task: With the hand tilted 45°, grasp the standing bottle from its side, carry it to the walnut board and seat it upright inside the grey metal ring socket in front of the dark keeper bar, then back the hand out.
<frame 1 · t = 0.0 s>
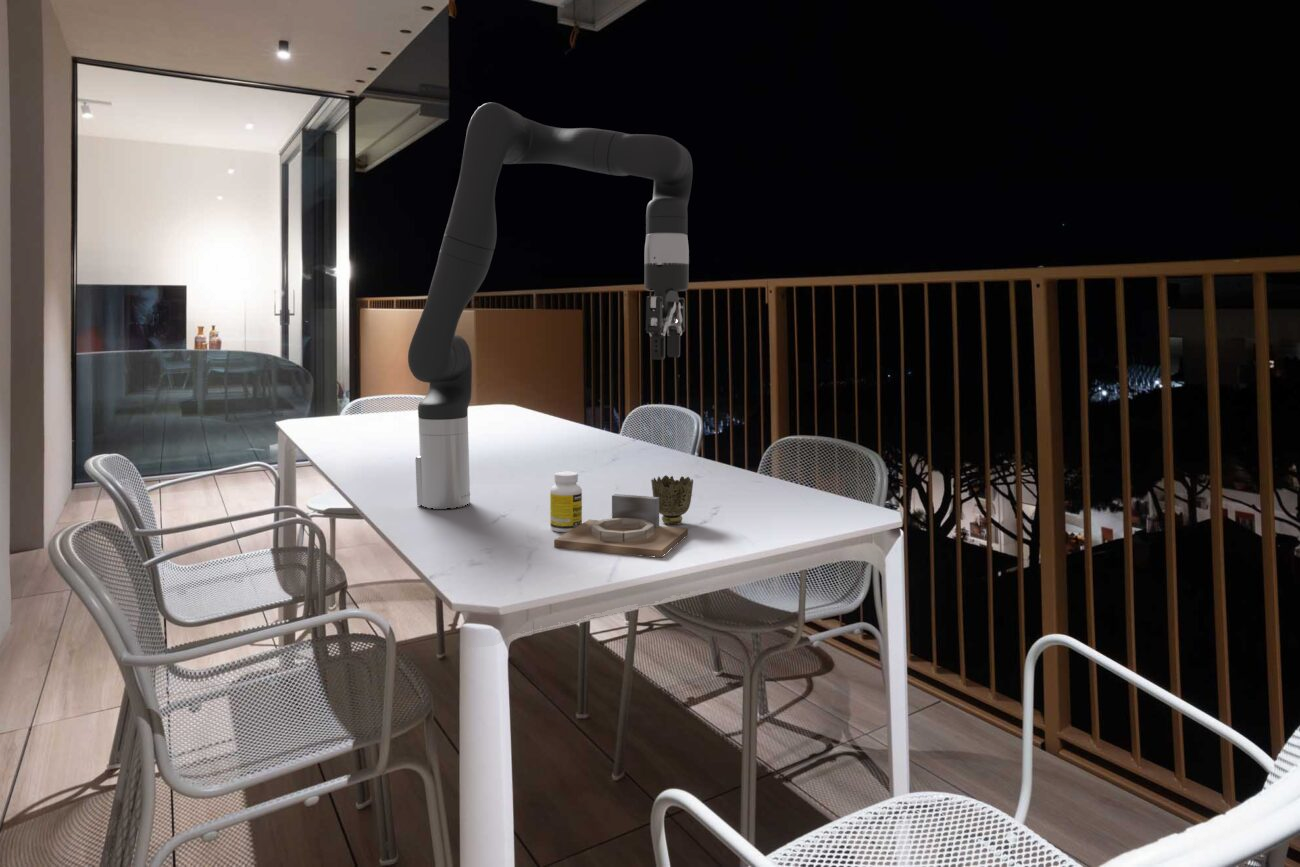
hand: (666, 358, 140), 29 cm above the table, tool pointing down, fingers open, 8 cm apart
supplement bottle: (566, 530, 141), on the table
cup: (672, 524, 145), on the table
socket board: (622, 541, 133), on the table
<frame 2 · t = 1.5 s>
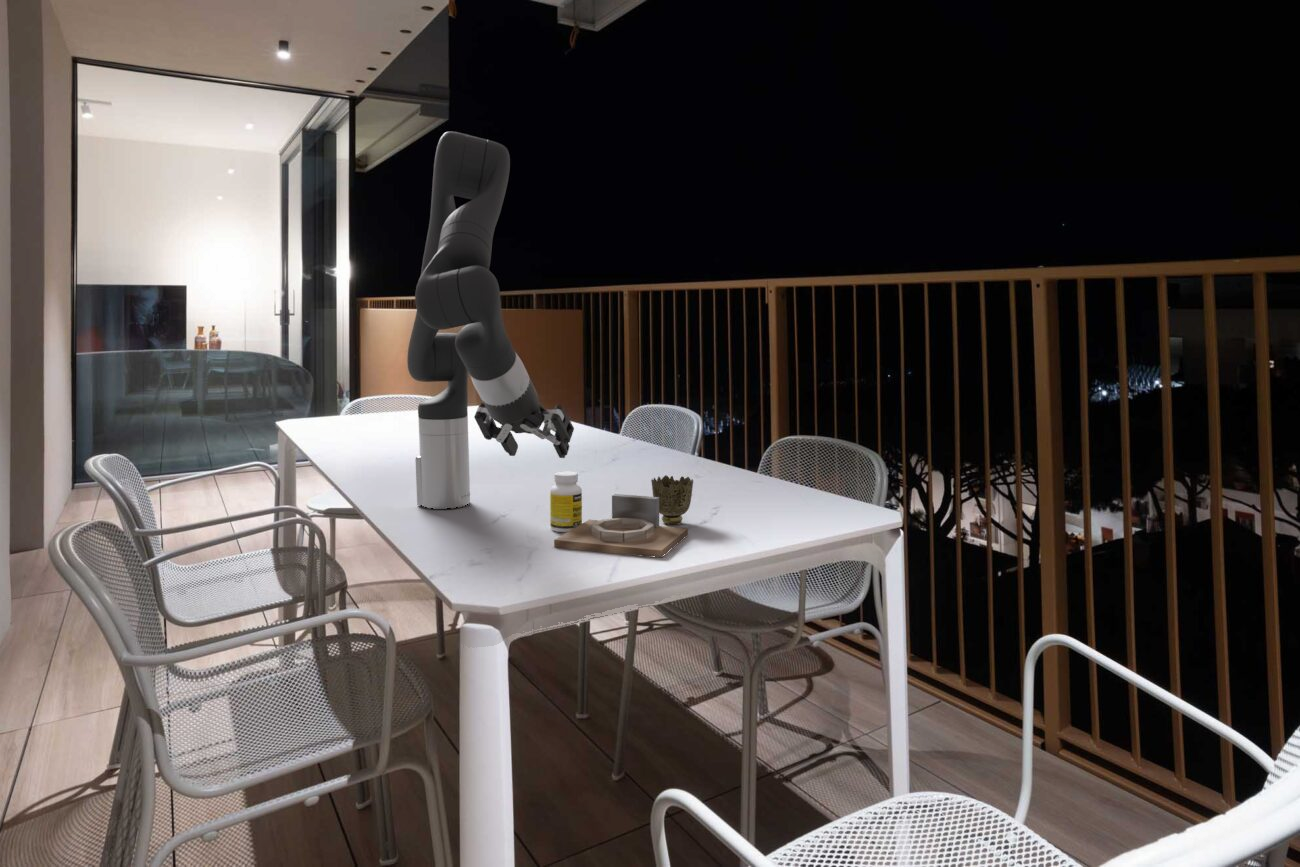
hand: (538, 452, 128), 15 cm above the table, tool tilted 45°, fingers open, 8 cm apart
nothing on the table moved.
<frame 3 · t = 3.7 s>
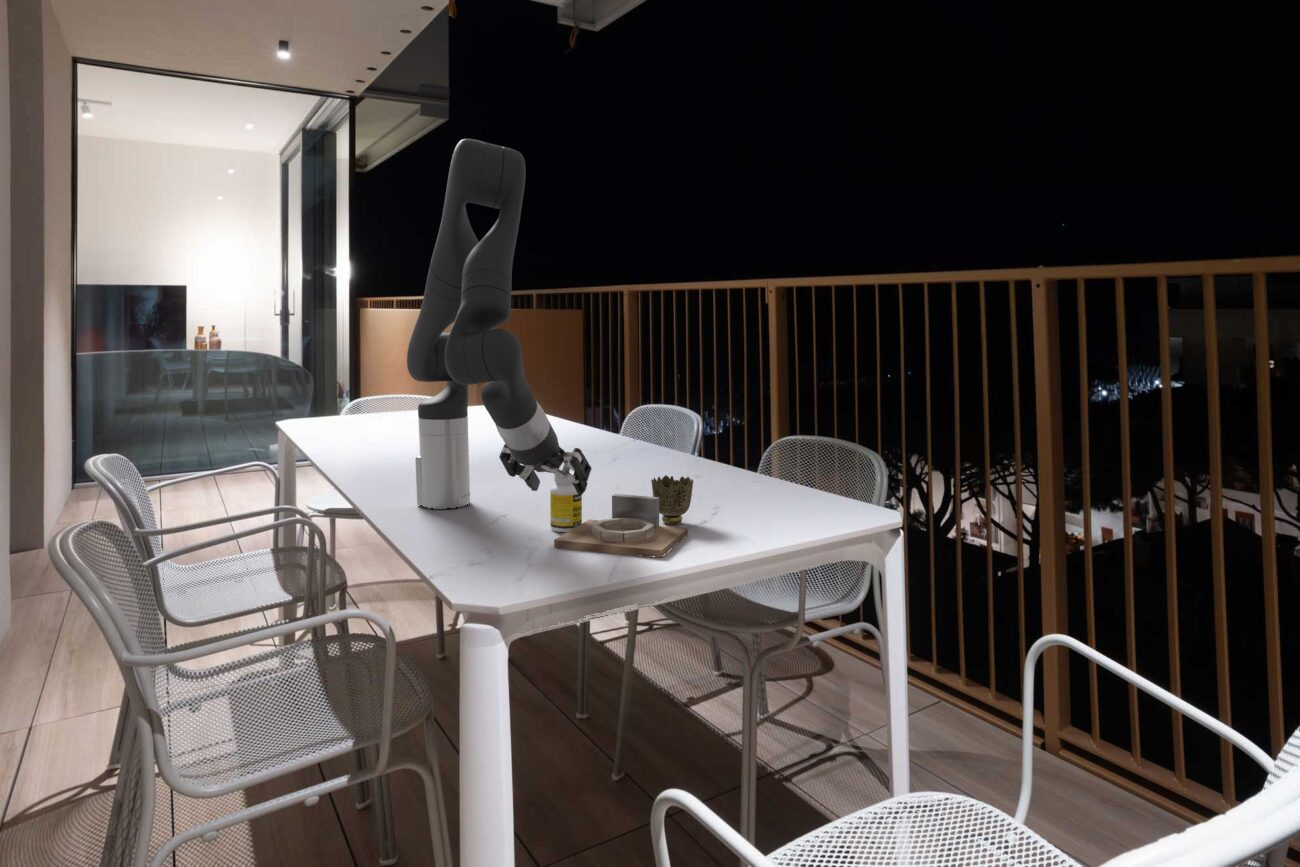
hand: (559, 488, 138), 8 cm above the table, tool tilted 45°, fingers open, 8 cm apart
nothing on the table moved.
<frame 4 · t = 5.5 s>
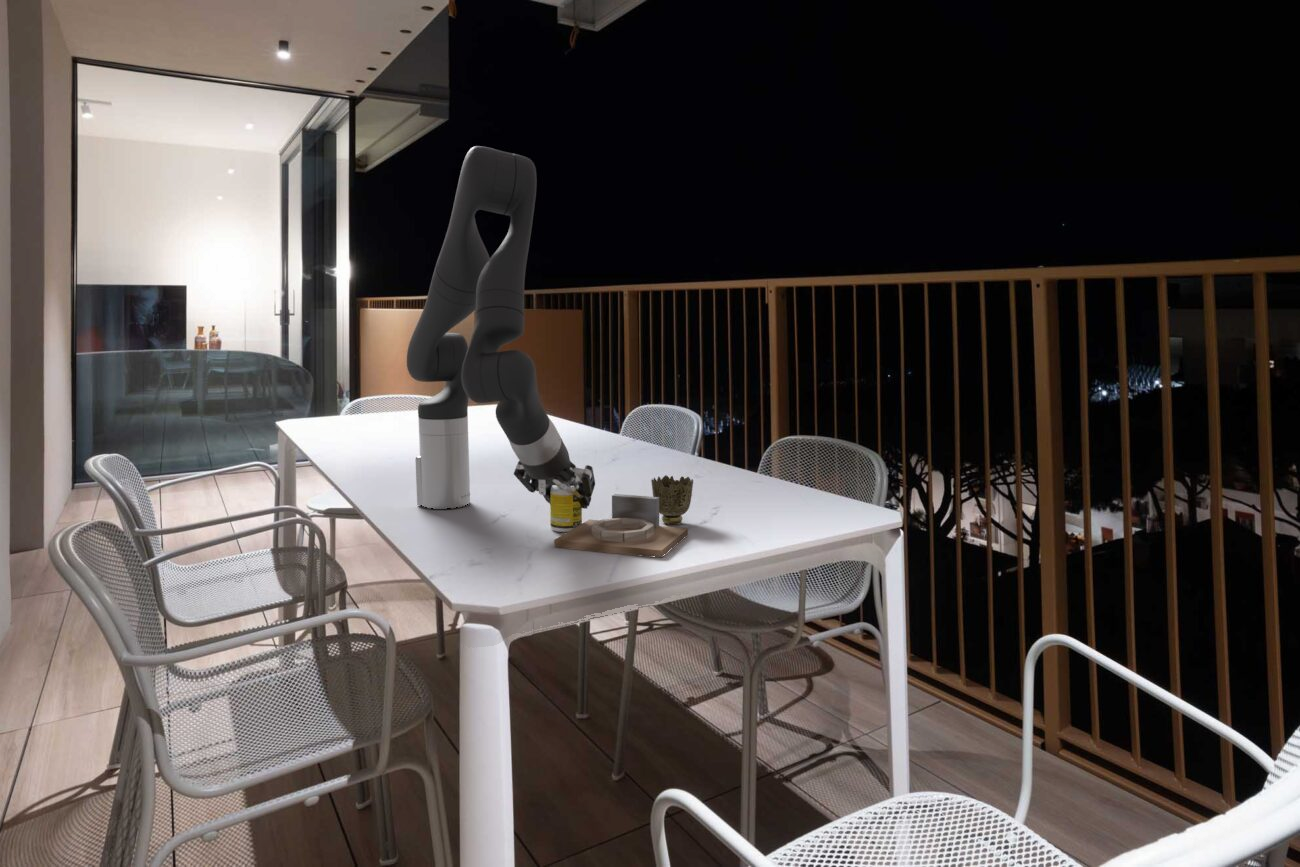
hand: (570, 502, 142), 4 cm above the table, tool tilted 45°, fingers closed on supplement bottle, 5 cm apart
supplement bottle: (566, 530, 141), on the table, touching gripper
everything else where it was.
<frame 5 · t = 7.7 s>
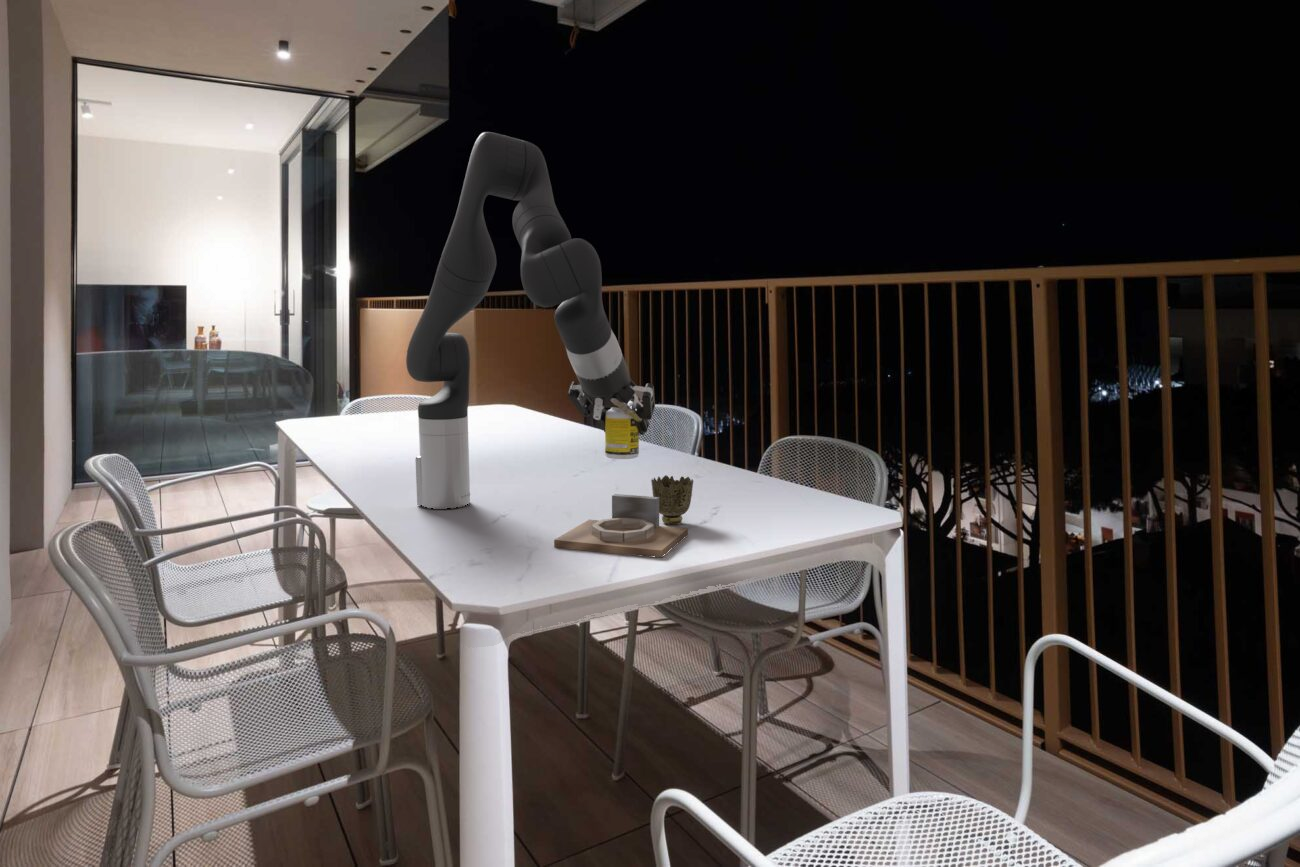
hand: (626, 429, 132), 18 cm above the table, tool tilted 45°, fingers closed on supplement bottle, 5 cm apart
supplement bottle: (622, 458, 131), point 14 cm above the table, touching gripper
everything else where it was.
when the fingers open (7 cm above the table, at t = 10.2 s): supplement bottle drops 2 cm, resting on socket board.
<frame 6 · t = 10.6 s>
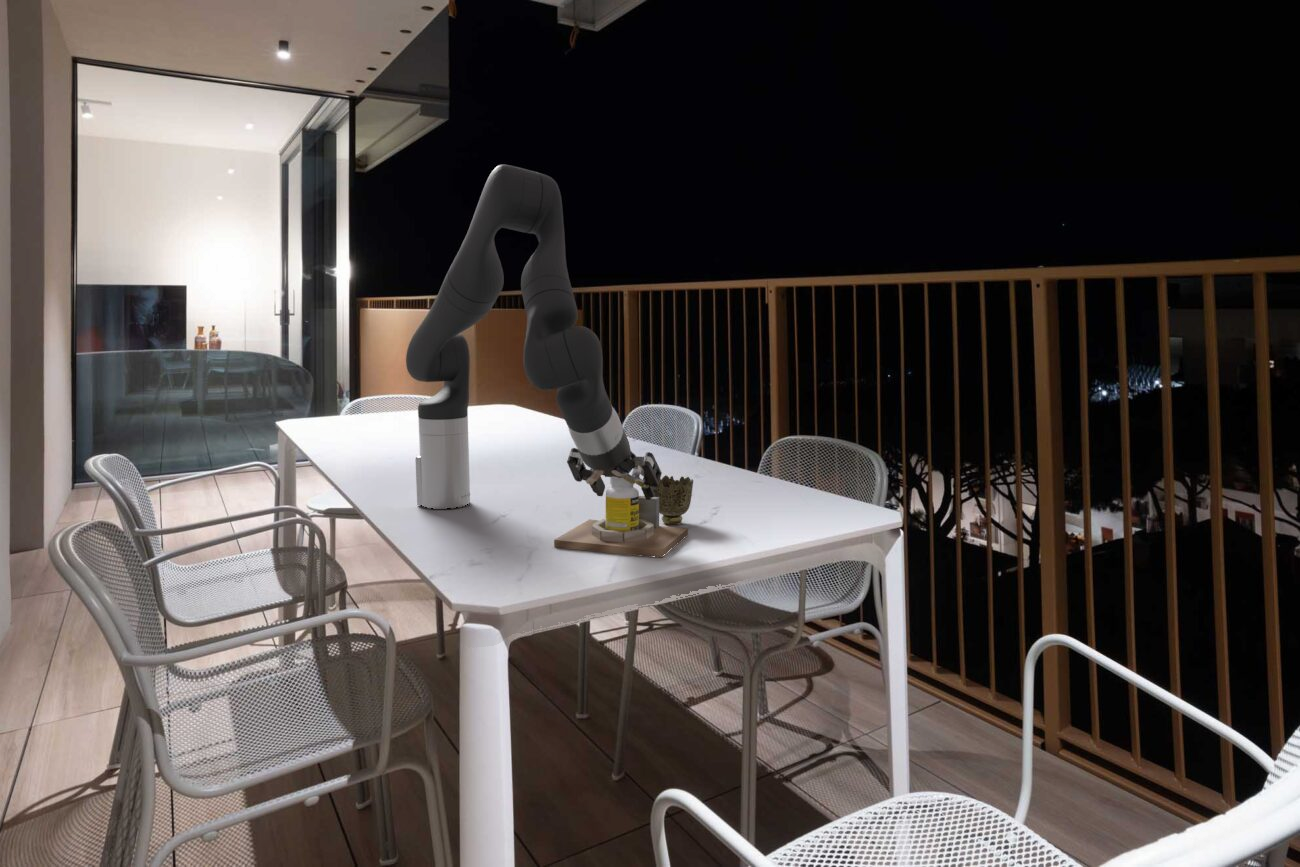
hand: (625, 493, 133), 8 cm above the table, tool tilted 45°, fingers open, 8 cm apart
supplement bottle: (622, 535, 133), point 1 cm above the table, touching socket board
everything else where it was.
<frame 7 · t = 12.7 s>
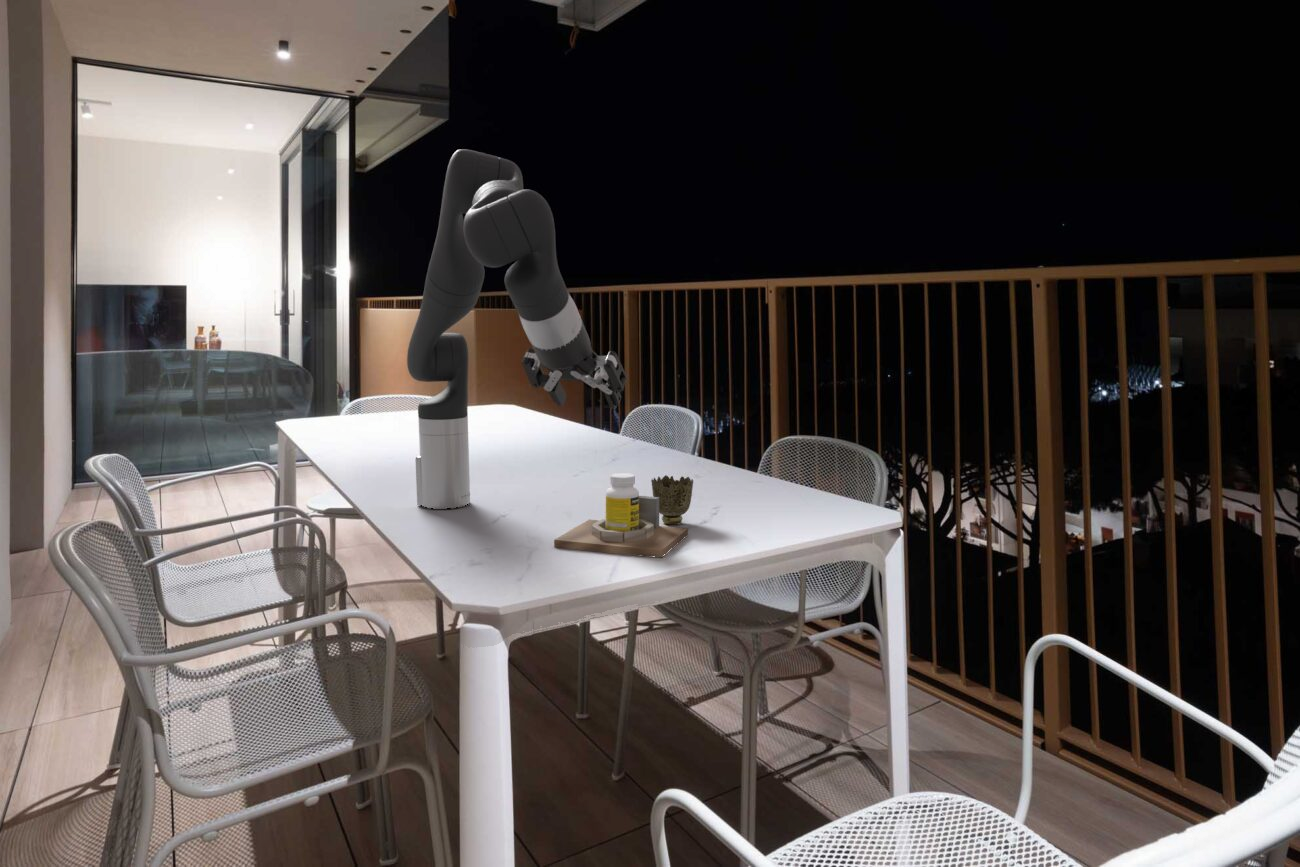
hand: (588, 403, 121), 24 cm above the table, tool tilted 45°, fingers open, 8 cm apart
nothing on the table moved.
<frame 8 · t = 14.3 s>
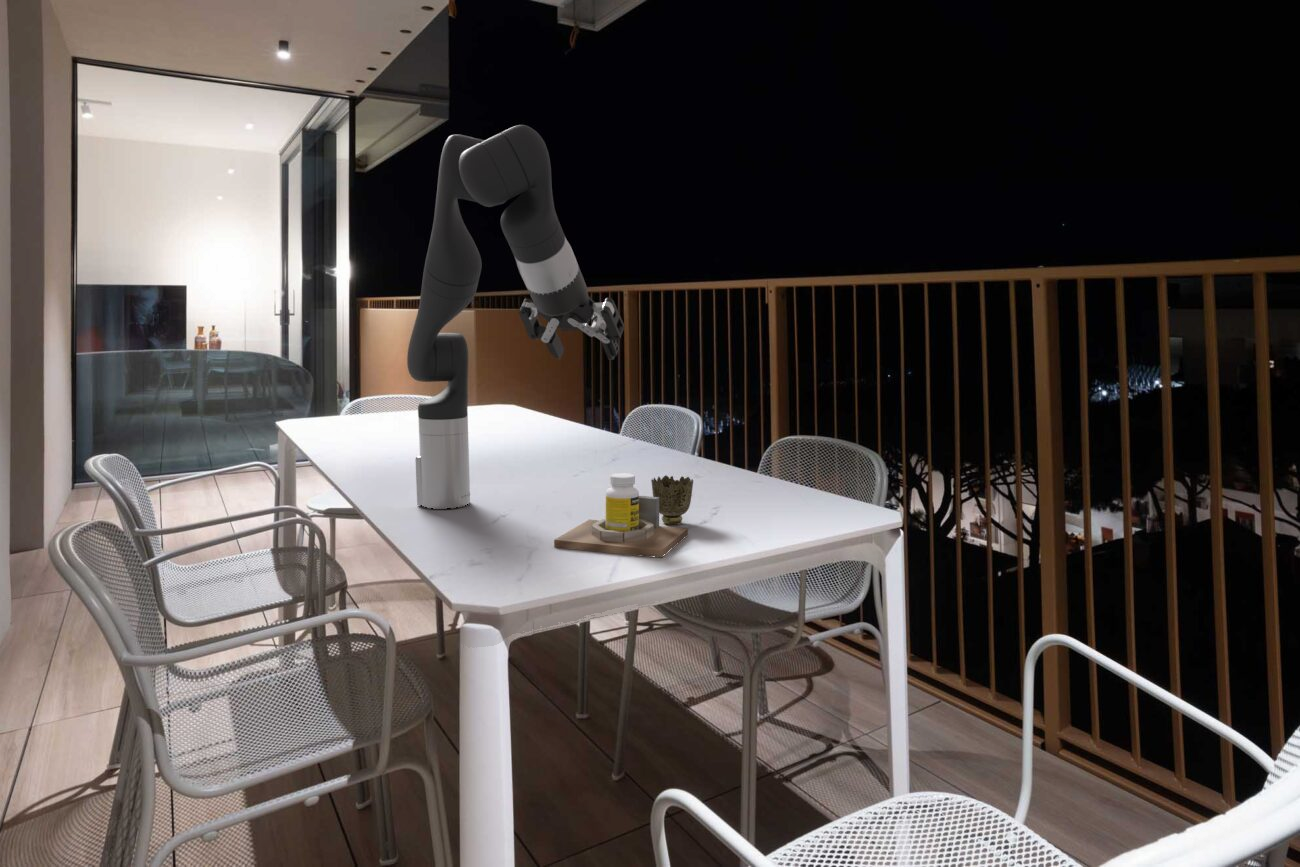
hand: (586, 355, 121), 31 cm above the table, tool tilted 45°, fingers open, 8 cm apart
nothing on the table moved.
at the end: supplement bottle 0.2 cm off-centre on the socket board, point 1.0 cm above the socket board's base; supplement bottle tilted 0°; the gripper is holding nothing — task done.
